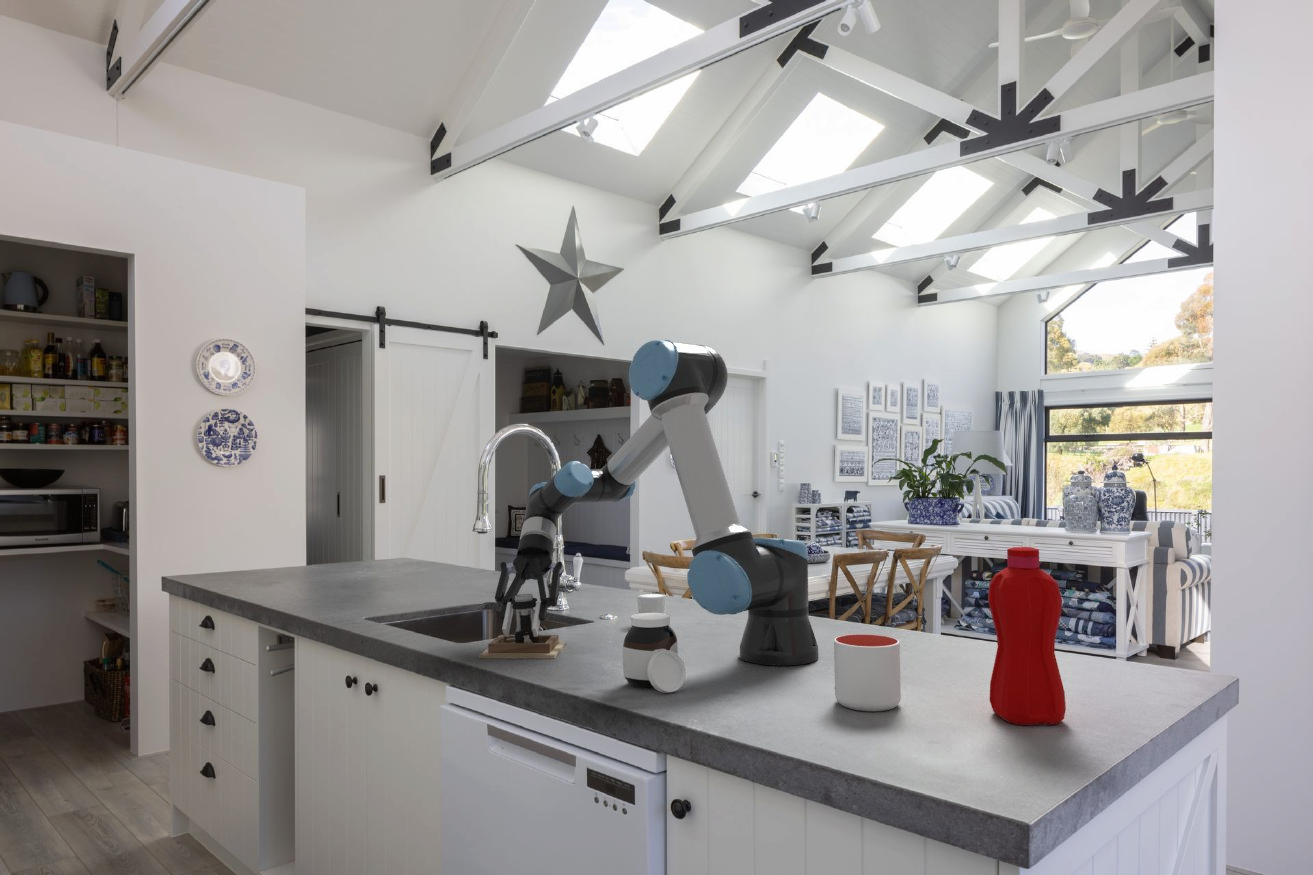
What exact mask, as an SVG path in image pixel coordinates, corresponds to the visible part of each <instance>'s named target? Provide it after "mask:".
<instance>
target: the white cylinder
mask: <svg viewBox="0 0 1313 875" xmlns="http://www.w3.org/2000/svg"><path fill="white" fill-rule="evenodd" d="M636 598H637V608H638V614H640V613H663V614H666V603H667V595H666V594H665V593H664V594H663V593H654V592H653V593H651V592H650V593H642V594H638V595H637V596H636Z"/></svg>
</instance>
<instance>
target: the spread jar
mask: <svg viewBox="0 0 1313 875" xmlns="http://www.w3.org/2000/svg"><path fill="white" fill-rule="evenodd" d="M670 624H671V616H670V615H669V614H667V613H665V614H663V613H640V614H639V613H634V614H632V615H630V628H629V629H628V631H627V633H626V634H625V637H624V639H623V646H622V647H623V648H622V666H623V667H622V670H623V676H624V679H625V681H626V682H627V683H628V684H629V685H631V686H632V687H635V688H638V689H647V690H648V689H650V690H653V689H655V690H657V691H658V692H659V693H663V694H669V693H674V692H676V691H678V690H680V689H681V687H682V686H683V685H684V683H685V680H686V674H687V672H686V667H685V662H684V661H683V659H682V658H681V657H680V655H679V646H678V644H679V643H678V636H677V635H676V634H677V633H676V632H675V630H674V629H673V628H672V627H671V626H670Z"/></svg>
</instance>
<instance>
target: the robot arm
mask: <svg viewBox="0 0 1313 875" xmlns="http://www.w3.org/2000/svg"><path fill="white" fill-rule="evenodd" d="M628 371H629V372H628V381H629V386H630V389H631V391H632V392H633V394H634V395H635V396H636V397H638V398H639V399H640V400H643V401H647V404H648V407H649V411H650V415H649V416H648V418H647V419H645V421H644V422H643V423H642V424H641V425H640V427H639V428H638V429H637V430H636V431H635V432H634V433H633V434H632V435H631V436H630V437H629V439H627V441H626V442H625V443H624V444H622V446H621V447H620V449H618V450H617V452H615V454H613V456H612V457H611V458H610V459H609V460H608V461H607V463H605V465H603V467H602V468H591V469H590V468H589V467H588V465H586V464H585V463H581V462H580V461H578V460H573V461H568V462H567V463H566V464H565V465H564V466H562V467H561V468H559V469H558V471H557V472H555V474H554V475H553V476H552V477H551V478H550V479H549V480H548V481H543V482H540V483H536V484H535V485H533V486H532V487H531V488H530V491H529V493H528V496H527V500H526V505H525V506H526V507H525V512H524V518H523V523H522V527H521V532H520V536H519V542H518V547H517V551H516V556H515V558H514V559H513V561H512V562H509V563H506V561H502V562H500V570H501V571H500V576H499V580H498V583H497V586H496V591H495V594H494V599H495V603H496V605H497V607H501V609H500V610H501V611H500V618H501V621H503V623H502V628H501V630H502V633H503V635H504V636H505V637H508V636H509V635H510V630H511V624H512V619H513V615H514V609H513V608H512V604H511V601H512V600H514V599H515V596H516V595H519V592H520V589H521V588H522V586H523V585H524V584H525V582H526V581H527V580H533V581H534V580H535V581H537V586H538V591H539V592H538V593H539V594H538V595H539V601H536V607H534V608H535V609H534V620H533V625H532V626H531V629H532V631H533V635H534V637H538V635H539V631H540V626H541V625H540V624H541V621H542V622H544V621H545V620H546V617H547V612H548V608H550V607H556V606H557V605H558V600H559V590H560V582H561V576H562V575H563V573H564V565H563V562H562V561H558V562H553V560H552V557H553V551H554V544H555V540H556V533H557V527H558V522H559V518H560V517H561V516H562V515H563V514H564V513H565V512H566V511H568V510H569V509H570V508H571V507H572V506H573V505H575V504H587V503H602V502H605V503H606V502H612V503H613V502H615V503H617V502H620V501H625V500H628V499H629V498H631V497H632V496H633V494H634V491H635V489H636V480H637V479H638V478H639V477H640V476H641V475H642V474H643V473H644V472H646V470H647V469H648V468H649V467H650V466H651V465H652V464H653V463H654V462H655V461H656V459H658V458H659V457H660V456H661V455H662V454H663V452H664V451H665V450H667V449H668V448H669V451H670V454H671V457H672V461H673V463H674V464H673V465H674V468H675V471H676V475H677V478H678V480H679V484H680V488H681V491H682V494H683V498H684V501H685V505H686V508H687V511H688V514H689V518H690V521H691V525H692V528H693V531H694V535H695V541H694V543H693V545H692V547H691V548H690V549H691V553H692V556H693V558H692V559H691V561H690V563H689V565H688V568H689V570H688V571H687V574H686V577H687V578H686V579H687V585H688V588H689V592H690V593H691V596H692V597H693V599H694V600H695V602H696V603H697V604H698V605H699V607H701V608H702V609H704V610H706V611H707V612H708V613H711V614H713V615H719V616H722V615H723V616H725V615H737V614H741V613H742V612H747V613H748V614H747V620H746V624H745V626H744V627H745V628H744V631H743V633H742V637H741V640H740V644H739V658H740V659H741V660H743V661H746V662H749V663H752V664H758V665H765V666H778V667H779V666H798V665H799V666H800V665H806V664H811V663H814V662H816V661H817V660H818V659H819V645H818V642H817V639H816V637H815V633H814V630H813V627H812V625H811V621H810V617H809V616H810V615H809V572H808V571H809V570H808V569H809V558H808V548H807V546H806V544H805V543H804V542H803V541H801V540H796V539H795V540H794V539H787V538H786V539H781V538H772V537H770V538H769V537H759V536H758V537H754V536H753V533H752V531H751V530H749V529H748V528H746V527H744V526H743V525H741V522H740V520H739V516H738V513H737V510H736V507H735V503H734V500H733V498H732V494H731V490H730V488H729V484H728V481H727V478H726V475H725V472H724V467H723V466H722V462H721V459H720V455H719V453H718V450H717V446H716V442H715V439H714V437H713V433H712V431H711V427H710V423H709V421H708V418H707V414H708V413H709V412H710V411H711V410H712V409H713V408H714V407H715V406H716V405H717V404H718V402H719V400H720V399H721V398H722V396H723V395H724V394H725V391H726V388H727V384H728V379H729V376H728V375H729V374H728V368H727V366H726V362H725V360H724V359H723V357H722V356H721V355H720V354H719V353H718V351H716V350H715V349H713V348H711V347H709V346H706V345H703V344H693V343H684V342H678V341H677V342H676V341H672V340H670V339H664V340H660V339H659V340H657V339H655V340H650V341H647V342H646V343H643V345H641V346H640V347H639V348H638V350H637V351H636V352H635V353H634V355H633V357H632V361H631V363H630V365H629V370H628ZM513 569H514V570H515V571H516V572H515V576H514V577H513V580H512V581H511V583H510V585H509V587H508V584H509V579H510V575H512V572H513ZM550 570H551V571H552V572H551V573H552V576H551V584H550V591H549V597H547V591H546V587H545V586H546V585H545V580H544V576H545V575H546V574H547V573H548V572H549V571H550ZM507 588H508V589H507Z"/></svg>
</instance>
